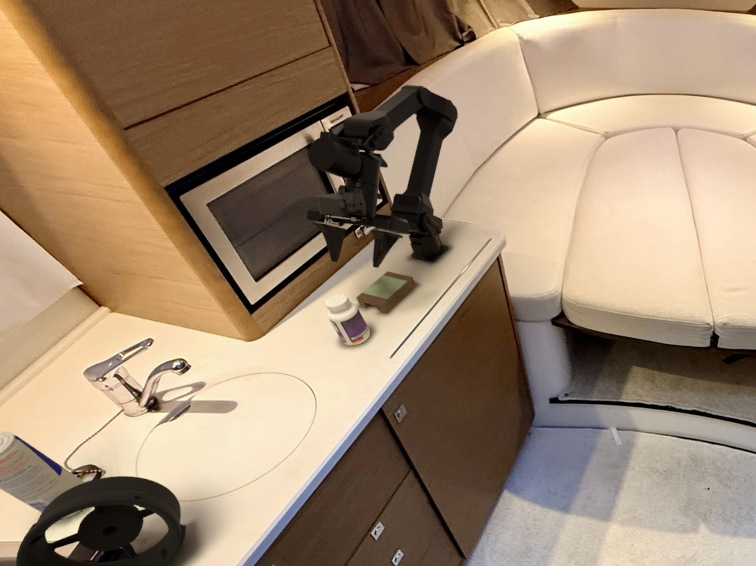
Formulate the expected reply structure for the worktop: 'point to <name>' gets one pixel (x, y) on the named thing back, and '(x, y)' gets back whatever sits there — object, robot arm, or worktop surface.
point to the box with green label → (387, 291)
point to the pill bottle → (347, 320)
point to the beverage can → (31, 473)
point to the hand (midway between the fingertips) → (354, 264)
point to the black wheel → (107, 523)
